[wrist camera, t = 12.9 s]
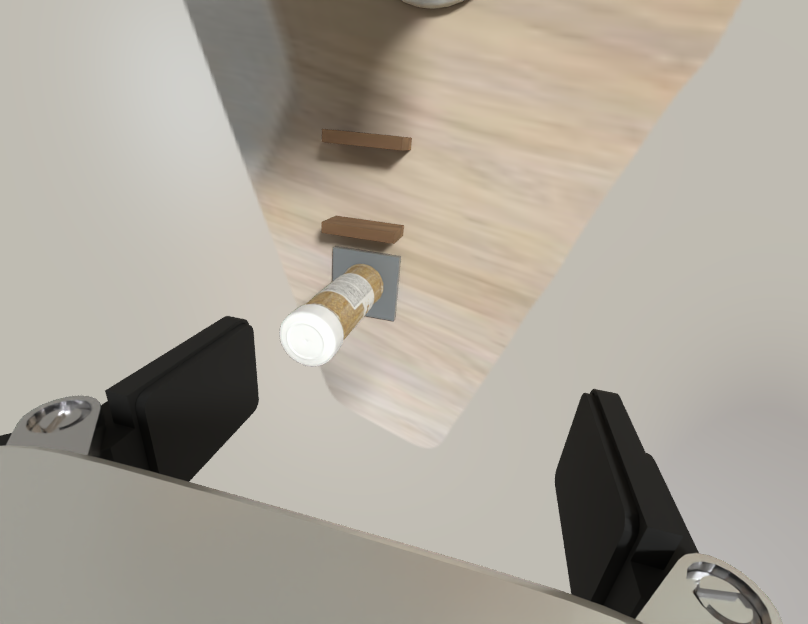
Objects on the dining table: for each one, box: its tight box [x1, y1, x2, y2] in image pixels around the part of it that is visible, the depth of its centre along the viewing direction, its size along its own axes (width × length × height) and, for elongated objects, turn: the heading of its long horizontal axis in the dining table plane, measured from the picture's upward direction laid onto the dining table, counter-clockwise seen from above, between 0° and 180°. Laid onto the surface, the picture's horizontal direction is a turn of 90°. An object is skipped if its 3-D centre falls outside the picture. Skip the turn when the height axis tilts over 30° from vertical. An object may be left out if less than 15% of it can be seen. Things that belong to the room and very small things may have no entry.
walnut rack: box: [322, 129, 412, 244], centre depth 36 cm, size 9×7×4 cm
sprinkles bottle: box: [279, 264, 383, 366], centre depth 35 cm, size 5×5×14 cm
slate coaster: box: [333, 246, 401, 321], centre depth 41 cm, size 7×7×1 cm
